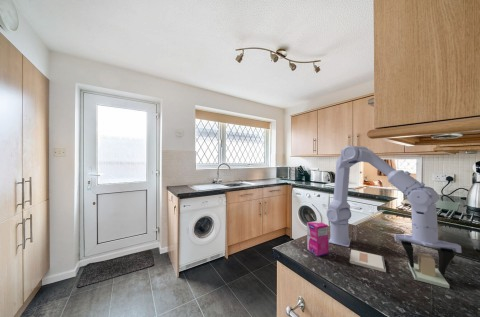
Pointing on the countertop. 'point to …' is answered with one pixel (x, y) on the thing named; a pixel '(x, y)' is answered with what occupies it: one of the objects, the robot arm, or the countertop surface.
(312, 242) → the supplement box
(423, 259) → the block on white base
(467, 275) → the countertop surface
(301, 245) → the countertop surface
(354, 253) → the board
